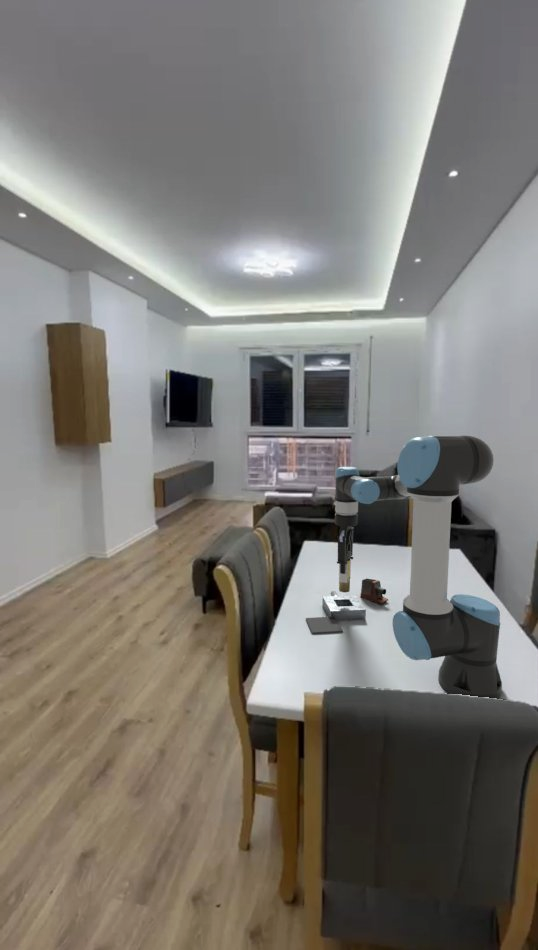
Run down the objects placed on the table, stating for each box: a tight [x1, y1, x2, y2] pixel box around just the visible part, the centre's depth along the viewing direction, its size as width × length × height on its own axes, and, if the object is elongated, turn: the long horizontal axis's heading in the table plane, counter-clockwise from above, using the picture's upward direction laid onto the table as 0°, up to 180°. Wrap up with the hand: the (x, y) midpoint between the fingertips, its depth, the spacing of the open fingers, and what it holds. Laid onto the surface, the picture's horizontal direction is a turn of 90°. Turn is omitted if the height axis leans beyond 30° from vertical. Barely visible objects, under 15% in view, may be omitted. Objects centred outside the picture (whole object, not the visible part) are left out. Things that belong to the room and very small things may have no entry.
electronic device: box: [359, 578, 389, 606], centre depth 175 cm, size 4×10×8 cm, turn 43°
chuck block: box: [321, 590, 367, 622], centre depth 168 cm, size 20×12×4 cm, turn 7°
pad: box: [305, 616, 344, 635], centre depth 155 cm, size 10×10×1 cm
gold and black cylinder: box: [338, 550, 351, 593], centre depth 162 cm, size 4×4×14 cm
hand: (344, 579), depth 162 cm, fingers closed on gold and black cylinder, 4 cm apart
